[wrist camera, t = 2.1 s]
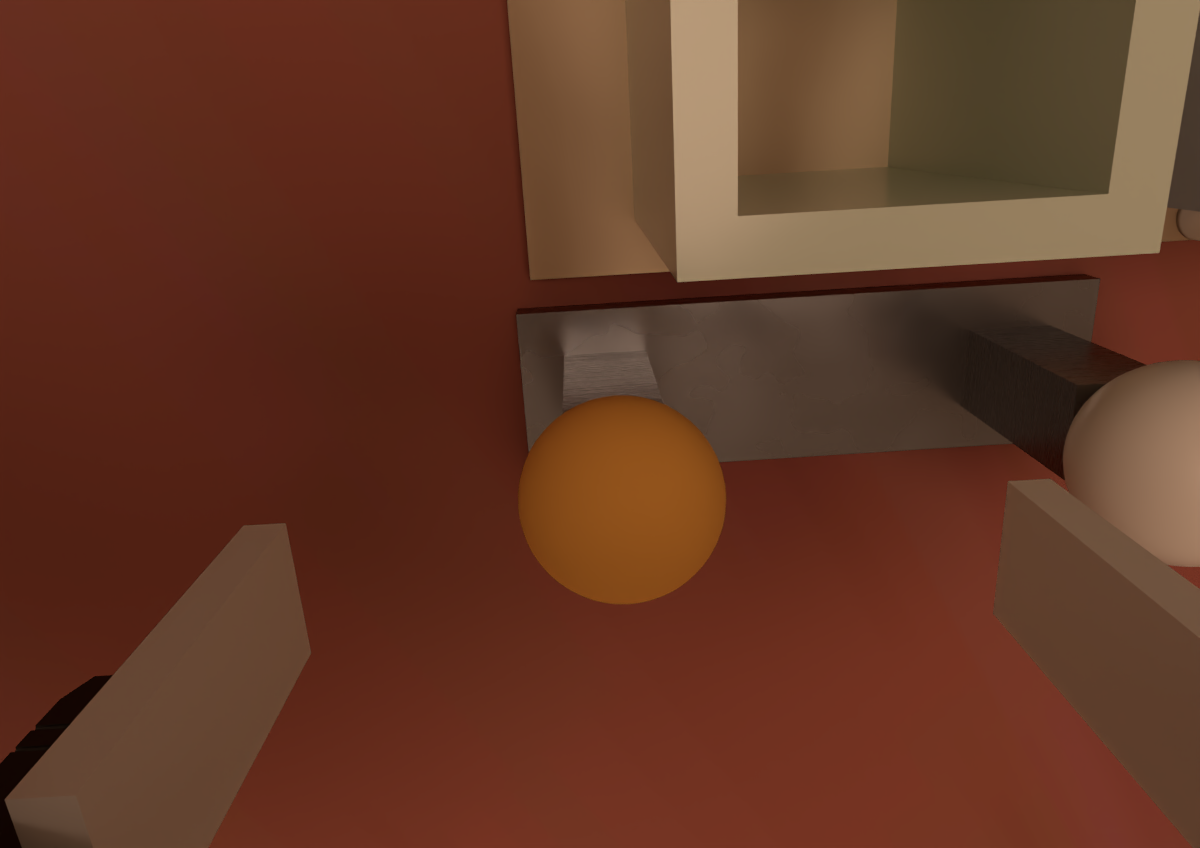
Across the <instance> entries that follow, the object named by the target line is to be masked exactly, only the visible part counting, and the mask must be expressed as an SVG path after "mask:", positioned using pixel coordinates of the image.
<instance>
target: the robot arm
mask: <svg viewBox="0 0 1200 848" xmlns="http://www.w3.org/2000/svg"><path fill="white" fill-rule="evenodd" d="M993 614H994V615H995V616H996V618H997V619H998V620H999V621H1000V622H1001V623H1002V625H1003V626H1004V627H1005V628H1006V629H1007V630H1008V632H1009V633H1010V634H1011V635H1012V636H1013V637H1014V639H1015V640H1016V641H1017V642H1018V643H1019V644H1020V646H1021V647H1022V648H1023V649H1024V650H1025V651H1026V653H1027V654H1028V655H1029V656H1030V657H1031V659H1032V660H1033V661H1034V662H1035V663H1036V664H1037V666H1038V667H1039V668H1040V669H1041V670H1042V671H1043V673H1044V674H1045V675H1046V676H1047V677H1048V678H1049V680H1050V681H1051V682H1052V683H1053V684H1054V685H1055V687H1056V688H1057V689H1058V690H1059V691H1060V693H1061V694H1062V695H1063V696H1064V697H1065V698H1066V700H1067V701H1068V702H1069V703H1070V704H1071V705H1072V707H1073V708H1074V709H1075V710H1076V711H1077V712H1078V714H1079V715H1080V716H1081V717H1082V718H1083V719H1084V721H1085V722H1086V723H1087V724H1088V725H1089V726H1090V728H1091V729H1092V730H1093V731H1094V732H1095V734H1096V735H1097V736H1098V737H1099V738H1100V739H1101V741H1102V742H1103V743H1104V744H1105V745H1106V746H1107V748H1108V749H1109V750H1110V751H1111V752H1112V753H1113V755H1114V756H1115V757H1116V758H1117V759H1118V760H1119V762H1120V763H1121V764H1122V765H1123V766H1124V768H1125V769H1126V770H1127V771H1128V772H1129V773H1130V775H1131V776H1132V777H1133V778H1134V779H1135V780H1136V782H1137V783H1138V784H1139V785H1140V786H1141V787H1142V789H1143V790H1144V791H1145V792H1146V793H1147V794H1148V796H1149V797H1150V798H1151V799H1152V800H1153V802H1154V803H1155V804H1156V805H1157V806H1158V807H1159V809H1160V810H1161V811H1162V812H1163V813H1164V814H1165V816H1166V817H1167V818H1168V819H1169V820H1170V821H1171V823H1172V824H1173V825H1174V826H1175V827H1176V828H1177V830H1178V831H1179V832H1180V833H1181V834H1182V835H1183V837H1184V838H1185V839H1186V840H1187V841H1188V843H1189V844H1190V845H1191V846H1192V847H1193V848H1200V589H1199V588H1197V587H1196V586H1195V585H1193V584H1192V583H1190V582H1189V581H1188V580H1186V579H1185V578H1184V577H1182V576H1181V575H1180V574H1178V573H1177V572H1176V571H1174V570H1173V569H1172V568H1170V567H1169V566H1167V565H1166V564H1165V563H1163V562H1162V561H1161V560H1159V559H1158V558H1157V557H1155V556H1154V555H1153V554H1151V553H1150V552H1149V551H1147V550H1146V549H1144V548H1143V547H1142V546H1140V545H1139V544H1138V543H1136V542H1135V541H1134V540H1132V539H1131V538H1130V537H1128V536H1127V535H1126V534H1124V533H1123V532H1121V531H1120V530H1119V529H1117V528H1116V527H1115V526H1113V525H1112V524H1111V523H1109V522H1108V521H1107V520H1105V519H1104V518H1103V517H1101V516H1100V515H1098V514H1097V513H1096V512H1094V511H1093V510H1092V509H1090V508H1089V507H1088V506H1086V505H1085V504H1084V503H1082V502H1081V501H1080V500H1078V499H1077V498H1075V497H1074V496H1073V495H1071V494H1070V493H1069V492H1067V491H1066V490H1065V489H1063V488H1062V487H1061V486H1059V485H1058V484H1057V483H1055V482H1054V481H1052V480H1051V479H1039V480H1022V481H1008V486H1007V495H1006V503H1005V512H1004V521H1003V530H1002V539H1001V548H1000V557H999V566H998V575H997V584H996V592H995V601H994V610H993ZM310 654H311V649H310V644H309V639H308V634H307V629H306V624H305V619H304V614H303V609H302V603H301V598H300V593H299V588H298V583H297V578H296V573H295V568H294V563H293V558H292V553H291V547H290V542H289V537H288V532H287V527H286V523H280V524H262V525H245V526H243V527H242V528H241V529H240V530H239V531H238V533H237V534H236V535H235V536H234V537H233V538H232V539H231V541H230V542H229V543H228V544H227V545H226V546H225V548H224V549H223V550H222V551H221V552H220V553H219V554H218V556H217V557H216V558H215V559H214V560H213V561H212V562H211V564H210V565H209V566H208V567H207V568H206V569H205V570H204V572H203V573H202V574H201V575H200V576H199V577H198V578H197V580H196V581H195V582H194V583H193V584H192V585H191V586H190V588H189V589H188V590H187V591H186V592H185V593H184V594H183V596H182V597H181V598H180V599H179V600H178V601H177V603H176V604H175V605H174V606H173V607H172V608H171V609H170V611H169V612H168V613H167V614H166V615H165V616H164V617H163V619H162V620H161V621H160V622H159V623H158V624H157V625H156V627H155V628H154V629H153V630H152V631H151V632H150V633H149V635H148V636H147V637H146V638H145V639H144V640H143V641H142V643H141V644H140V645H139V646H138V647H137V648H136V649H135V651H134V652H133V653H132V654H131V655H130V656H129V658H128V659H127V660H126V661H125V662H124V663H123V664H122V666H121V667H120V668H119V669H118V670H117V671H116V672H115V674H114V675H110V676H94V677H93V678H91V679H90V680H88V681H87V682H85V683H84V684H82V685H81V686H79V687H78V688H76V689H75V690H73V691H72V692H70V693H69V694H67V695H66V696H64V697H63V698H61V699H60V700H59V701H58V702H57V703H56V704H55V705H54V706H53V707H52V709H51V710H50V711H49V712H48V713H47V714H46V715H45V716H44V717H43V718H42V719H41V720H40V721H39V723H38V724H37V725H36V729H35V730H33V731H30V732H29V733H28V734H27V735H26V737H25V738H24V739H23V740H22V741H21V742H20V743H19V744H18V745H17V746H16V751H15V752H11V753H10V754H9V755H8V756H7V757H6V758H5V759H4V760H3V761H2V762H1V763H0V848H208V847H209V846H210V844H211V842H212V840H213V838H214V836H215V834H216V832H217V830H218V829H219V827H220V825H221V823H222V821H223V819H224V817H225V815H226V813H227V811H228V810H229V808H230V806H231V804H232V802H233V800H234V798H235V796H236V794H237V793H238V791H239V789H240V787H241V785H242V783H243V781H244V779H245V777H246V775H247V774H248V772H249V770H250V768H251V766H252V764H253V762H254V760H255V758H256V757H257V755H258V753H259V751H260V749H261V747H262V745H263V743H264V741H265V739H266V738H267V736H268V734H269V732H270V730H271V728H272V726H273V724H274V722H275V721H276V719H277V717H278V715H279V713H280V711H281V709H282V707H283V705H284V703H285V702H286V700H287V698H288V696H289V694H290V692H291V690H292V688H293V686H294V685H295V683H296V681H297V679H298V677H299V675H300V673H301V671H302V669H303V667H304V666H305V664H306V662H307V660H308V658H309V656H310Z"/></svg>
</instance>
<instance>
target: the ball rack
mask: <svg viewBox="0 0 1200 848" xmlns="http://www.w3.org/2000/svg"><path fill="white" fill-rule="evenodd" d="M1099 283H1100V279H1099V278H1096V277H1092V276H1089V275H1085V274H1080V275H1063V276H1047V277H1031V278H1014V279H998V280H982V281H965V282H949V283H933V284H916V285H900V286H884V287H867V288H851V289H835V290H818V291H802V292H786V293H769V294H753V295H737V296H720V297H704V298H688V299H671V300H655V301H638V302H622V303H606V304H589V305H573V306H557V307H540V308H524V309H518V310H517V313H516V318H517V329H518V340H519V351H520V363H521V374H522V385H523V396H524V407H525V418H526V429H527V440H528V451H529V452H530V450H531V448H532V447H533V445H534V443H535V442H536V440H537V439H538V438H539V436H540V435H541V434H542V433H543V431H544V430H545V429H546V428H547V427H548V426H549V425H550V424H551V423H552V422H553V421H554V420H555V419H556V418H558V417H559V416H560V415H562V414H563V413H565V412H566V411H568V410H570V409H571V408H573V407H575V406H577V405H579V404H582V403H584V402H587V401H589V400H593V399H597V398H601V397H607V396H615V395H629V396H637V397H643V398H647V399H651V400H655V401H657V402H660V403H662V404H665V405H667V406H669V407H670V408H672V409H674V410H676V411H677V412H679V413H680V414H682V415H683V416H684V417H686V418H687V419H688V420H690V421H691V422H692V423H693V424H694V425H695V426H696V427H697V428H698V429H699V430H700V431H701V432H702V434H703V435H704V436H705V438H706V439H707V440H708V442H709V443H710V445H711V447H712V449H713V450H714V452H715V454H716V456H717V458H718V461H719V462H730V461H745V460H761V459H777V458H792V457H808V456H824V455H840V454H855V453H871V452H887V451H903V450H918V449H934V448H950V447H966V446H981V445H997V444H1015V445H1016V446H1017V447H1019V448H1020V449H1022V450H1023V451H1024V452H1026V453H1027V454H1029V455H1030V456H1031V457H1033V458H1034V459H1036V460H1037V461H1038V462H1040V463H1041V464H1043V465H1044V466H1045V467H1047V468H1048V469H1050V470H1051V471H1052V472H1054V473H1055V474H1057V475H1058V476H1059V477H1061V478H1062V479H1064V480H1065V477H1064V470H1063V450H1064V445H1065V440H1066V437H1067V434H1068V431H1069V428H1070V426H1071V424H1072V421H1073V419H1074V418H1075V416H1076V414H1077V413H1078V411H1079V410H1080V408H1081V407H1082V406H1083V405H1084V403H1085V402H1086V401H1087V400H1088V399H1089V398H1090V397H1091V396H1092V395H1093V394H1094V393H1095V392H1096V391H1097V390H1099V389H1100V388H1101V387H1102V386H1104V385H1105V384H1107V383H1108V382H1110V381H1111V380H1113V379H1114V378H1116V377H1118V376H1120V375H1122V374H1124V373H1126V372H1128V371H1131V370H1134V369H1136V368H1139V367H1142V366H1146V365H1145V364H1143V363H1140V362H1138V361H1136V360H1133V359H1131V358H1128V357H1126V356H1123V355H1121V354H1119V353H1116V352H1114V351H1111V350H1109V349H1106V348H1104V347H1102V346H1099V345H1097V344H1094V343H1092V342H1091V339H1092V332H1093V325H1094V318H1095V311H1096V304H1097V297H1098V290H1099Z"/></svg>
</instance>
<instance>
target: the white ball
mask: <svg viewBox="0 0 1200 848" xmlns="http://www.w3.org/2000/svg"><path fill="white" fill-rule="evenodd" d="M1063 470H1064V477H1065V481H1066V486H1067V488H1068V491H1069V493H1070V494H1071V495H1073V496H1074V497H1075V498H1077V499H1078V500H1080V501H1081V502H1082V503H1084V504H1085V505H1086V506H1088V507H1089V508H1090V509H1092V510H1093V511H1094V512H1096V513H1097V514H1098V515H1100V516H1101V517H1103V518H1104V519H1105V520H1107V521H1108V522H1109V523H1111V524H1112V525H1113V526H1115V527H1116V528H1117V529H1119V530H1120V531H1121V532H1123V533H1124V534H1126V535H1127V536H1128V537H1130V538H1131V539H1132V540H1134V541H1135V542H1136V543H1138V544H1139V545H1140V546H1142V547H1143V548H1144V549H1146V550H1147V551H1149V552H1150V553H1151V554H1153V555H1154V556H1155V557H1157V558H1158V559H1159V560H1161V561H1162V562H1163V563H1165V564H1166V565H1173V566H1184V567H1200V361H1195V360H1176V361H1166V362H1158V363H1154V364H1150V365H1146V366H1142V367H1139V368H1136V369H1134V370H1131V371H1128V372H1126V373H1124V374H1122V375H1120V376H1118V377H1116V378H1114V379H1113V380H1111V381H1110V382H1108V383H1107V384H1105V385H1104V386H1102V387H1101V388H1100V389H1099V390H1097V391H1096V392H1095V393H1094V394H1093V395H1092V396H1091V397H1090V398H1089V399H1088V400H1087V401H1086V402H1085V403H1084V405H1083V406H1082V407H1081V408H1080V410H1079V411H1078V413H1077V414H1076V416H1075V418H1074V419H1073V421H1072V424H1071V426H1070V428H1069V431H1068V434H1067V437H1066V440H1065V445H1064V450H1063Z"/></svg>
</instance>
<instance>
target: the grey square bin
mask: <svg viewBox="0 0 1200 848" xmlns="http://www.w3.org/2000/svg"><path fill="white" fill-rule="evenodd" d="M1167 207H1168V208H1175V209H1183V210H1190V211H1198V212H1200V12H1199V18H1198V24H1197V30H1196V36H1195V42H1194V48H1193V54H1192V60H1191V66H1190V72H1189V78H1188V84H1187V90H1186V96H1185V102H1184V108H1183V114H1182V120H1181V126H1180V132H1179V138H1178V144H1177V150H1176V156H1175V162H1174V168H1173V174H1172V180H1171V186H1170V192H1169V198H1168V204H1167Z"/></svg>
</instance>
